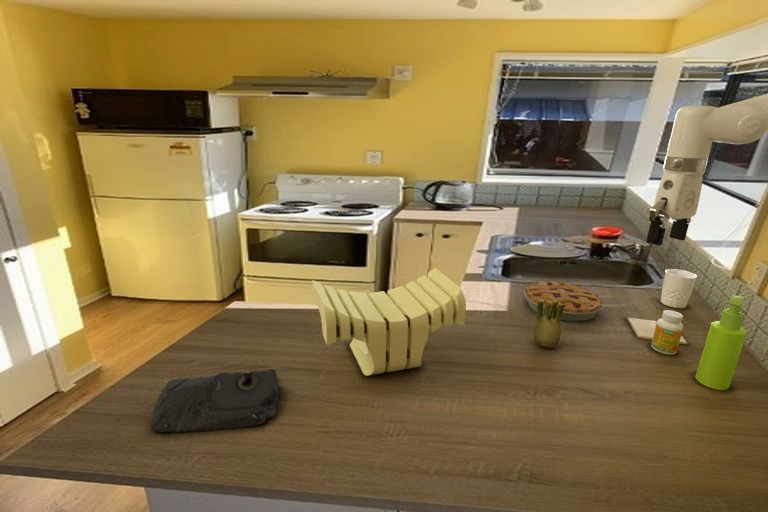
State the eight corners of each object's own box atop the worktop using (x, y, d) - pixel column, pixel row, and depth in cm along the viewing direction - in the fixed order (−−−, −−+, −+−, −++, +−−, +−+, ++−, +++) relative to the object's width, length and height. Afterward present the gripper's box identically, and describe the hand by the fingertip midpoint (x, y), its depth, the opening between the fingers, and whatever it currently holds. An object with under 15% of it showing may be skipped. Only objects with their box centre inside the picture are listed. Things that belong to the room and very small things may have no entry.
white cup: (663, 296, 136) (670, 267, 132) (692, 304, 130) (700, 274, 127) (654, 302, 131) (661, 272, 128) (683, 311, 125) (692, 280, 122)
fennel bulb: (529, 343, 105) (536, 299, 101) (539, 337, 108) (546, 294, 105) (551, 353, 101) (559, 307, 97) (561, 346, 104) (569, 301, 100)
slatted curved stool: (327, 390, 86) (326, 310, 80) (314, 350, 100) (312, 279, 94) (460, 366, 95) (467, 293, 89) (431, 332, 109) (435, 268, 103)
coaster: (671, 325, 117) (672, 323, 116) (686, 344, 107) (687, 342, 106) (627, 319, 119) (627, 317, 119) (638, 337, 109) (638, 335, 109)
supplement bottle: (655, 353, 102) (664, 317, 99) (647, 342, 107) (656, 307, 104) (680, 356, 101) (690, 320, 98) (671, 345, 106) (681, 310, 103)
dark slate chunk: (170, 383, 86) (167, 363, 85) (281, 375, 90) (279, 355, 88) (143, 437, 72) (138, 414, 71) (275, 424, 76) (274, 402, 74)
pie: (534, 322, 116) (536, 306, 114) (513, 291, 137) (515, 276, 135) (615, 325, 115) (618, 309, 114) (582, 293, 136) (585, 279, 135)
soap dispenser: (691, 383, 91) (717, 297, 85) (698, 370, 96) (723, 288, 89) (725, 395, 87) (755, 307, 81) (731, 382, 92) (759, 297, 85)
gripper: (682, 169, 85) (661, 250, 90) (723, 166, 93) (702, 241, 99) (644, 165, 91) (627, 241, 96) (686, 162, 99) (668, 233, 105)
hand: (665, 241), depth 98 cm, fingers open, 9 cm apart
